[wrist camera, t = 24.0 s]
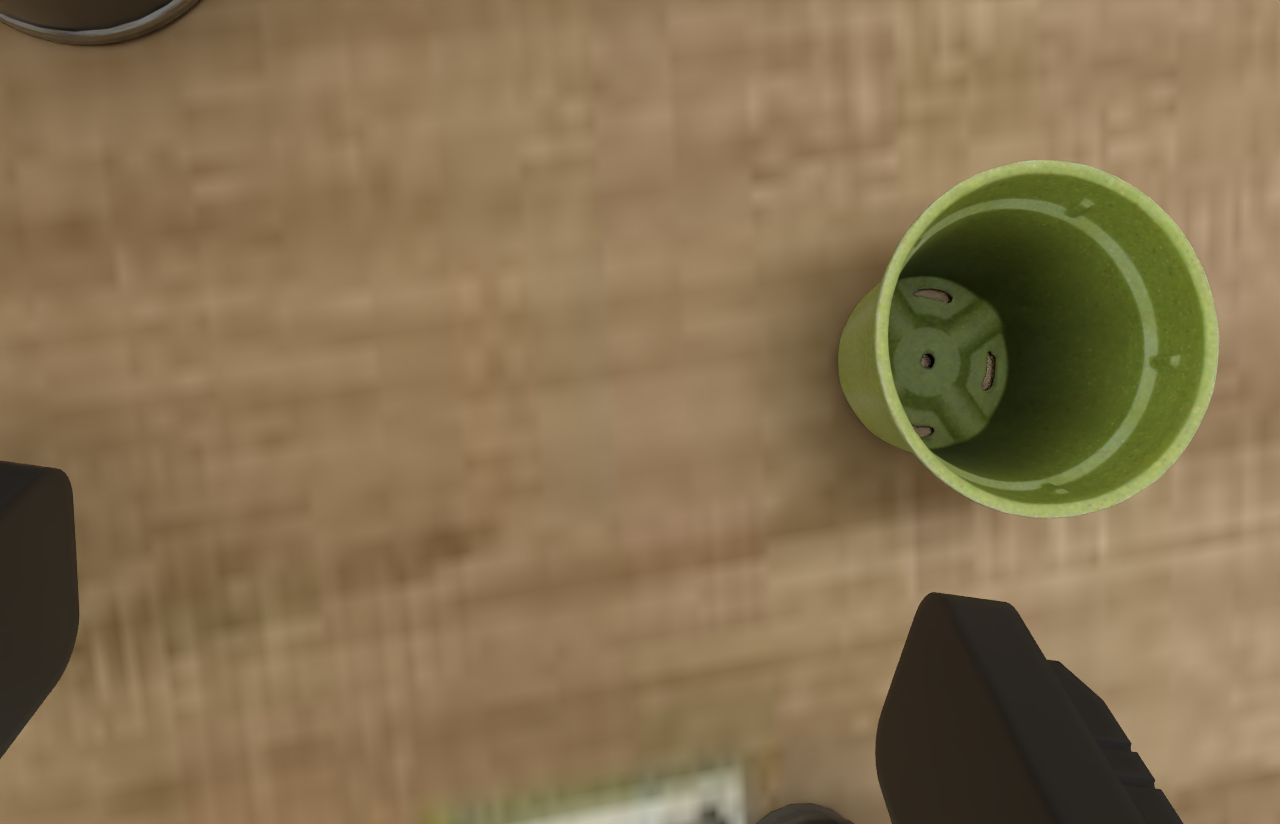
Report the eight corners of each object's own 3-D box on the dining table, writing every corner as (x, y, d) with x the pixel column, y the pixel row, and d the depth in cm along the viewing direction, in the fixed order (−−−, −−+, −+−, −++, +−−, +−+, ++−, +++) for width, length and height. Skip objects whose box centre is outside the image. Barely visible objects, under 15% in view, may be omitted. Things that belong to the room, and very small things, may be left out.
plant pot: (1037, 516, 36) (1204, 536, 27) (773, 486, 34) (859, 497, 26) (1062, 250, 36) (1234, 187, 27) (802, 212, 35) (896, 134, 26)
